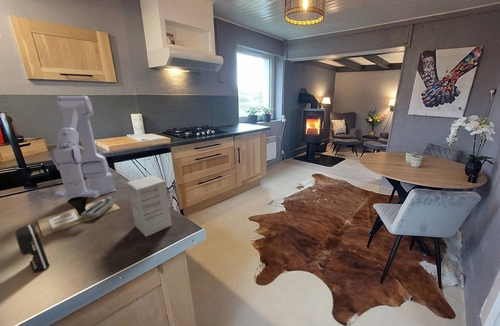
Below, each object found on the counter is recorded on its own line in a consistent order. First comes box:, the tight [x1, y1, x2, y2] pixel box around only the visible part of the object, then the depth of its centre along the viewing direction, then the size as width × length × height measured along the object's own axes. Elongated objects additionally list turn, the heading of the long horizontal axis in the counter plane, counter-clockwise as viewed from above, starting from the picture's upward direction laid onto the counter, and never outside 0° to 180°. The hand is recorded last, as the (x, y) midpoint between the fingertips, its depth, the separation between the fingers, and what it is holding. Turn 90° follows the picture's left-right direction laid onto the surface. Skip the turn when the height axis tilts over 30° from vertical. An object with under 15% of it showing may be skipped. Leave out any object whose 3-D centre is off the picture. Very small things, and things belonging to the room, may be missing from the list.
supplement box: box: [126, 174, 173, 238], centre depth 72 cm, size 10×9×17 cm
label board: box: [36, 198, 121, 237], centre depth 82 cm, size 23×14×1 cm, turn 140°
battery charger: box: [15, 223, 50, 273], centre depth 56 cm, size 7×4×11 cm, turn 51°
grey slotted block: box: [81, 196, 115, 218], centre depth 84 cm, size 12×6×2 cm, turn 179°
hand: (82, 214), depth 80 cm, fingers closed
